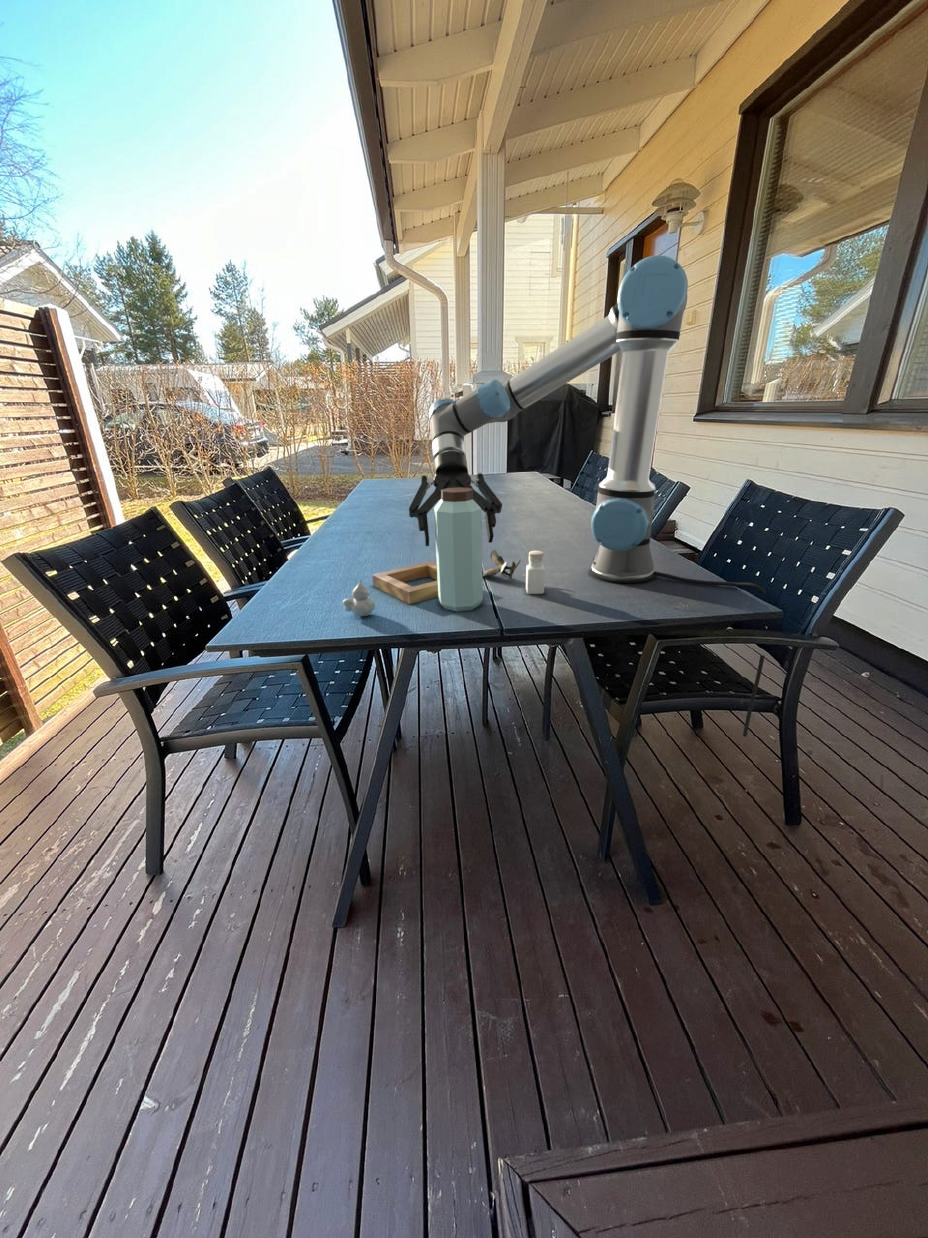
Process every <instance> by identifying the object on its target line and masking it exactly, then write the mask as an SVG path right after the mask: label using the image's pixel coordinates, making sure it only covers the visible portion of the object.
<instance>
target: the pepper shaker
mask: <svg viewBox="0 0 928 1238" xmlns="http://www.w3.org/2000/svg"><path fill="white" fill-rule="evenodd" d="M543 561H544V552H543V551H541V550H530V551H529V552H528V564H527V565H526V567H525V590H526V594H528V595H543V594H544V593H545V580H546V579H545V577H546V569H545V568H546V567H545V565H544V564H543Z"/></svg>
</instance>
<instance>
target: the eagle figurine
mask: <svg viewBox="0 0 928 1238" xmlns="http://www.w3.org/2000/svg"><path fill="white" fill-rule="evenodd" d="M489 556H490V559H491V561H492V562H493V564H494V565H495V566H497V567H493V568H489V569H486V571H485V572H484V573H482V578H483V577H486V576H496V575H497V574H498V573H500V574H501V575H502V576H505V575H506V576H508V578H509V580H510V581H512V579H513V574H514V573H515V571H516V569H517V567H518V566H519V565H520V563H521V559H519V560H518V561H517V562H515V561H512V563H511V566H507V562H508V561H505V560H504V558H503V556H502V555H499V553H498V551H497V550H496V549H493V550H491V551H490V555H489ZM506 570H509V572H507V571H506Z"/></svg>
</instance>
